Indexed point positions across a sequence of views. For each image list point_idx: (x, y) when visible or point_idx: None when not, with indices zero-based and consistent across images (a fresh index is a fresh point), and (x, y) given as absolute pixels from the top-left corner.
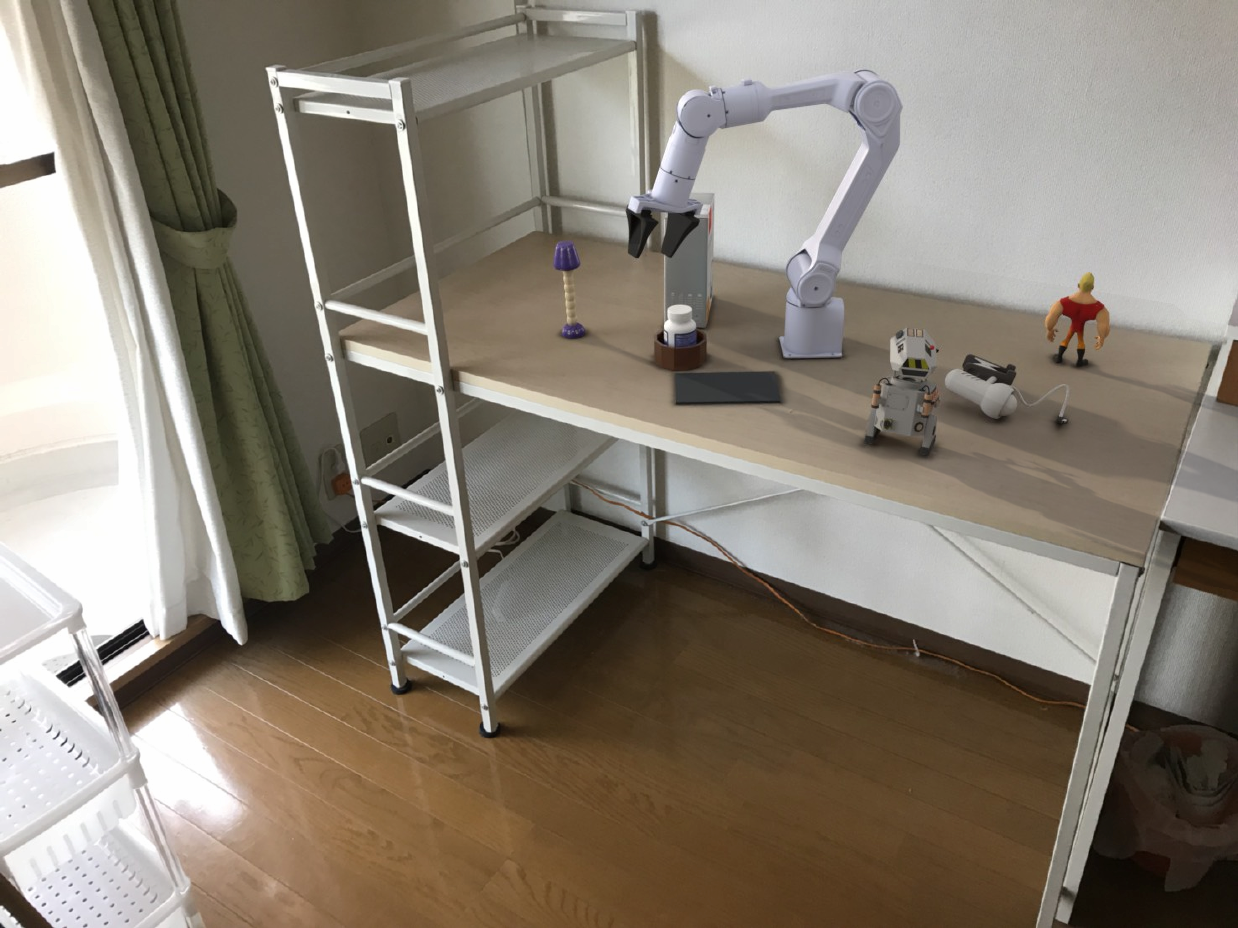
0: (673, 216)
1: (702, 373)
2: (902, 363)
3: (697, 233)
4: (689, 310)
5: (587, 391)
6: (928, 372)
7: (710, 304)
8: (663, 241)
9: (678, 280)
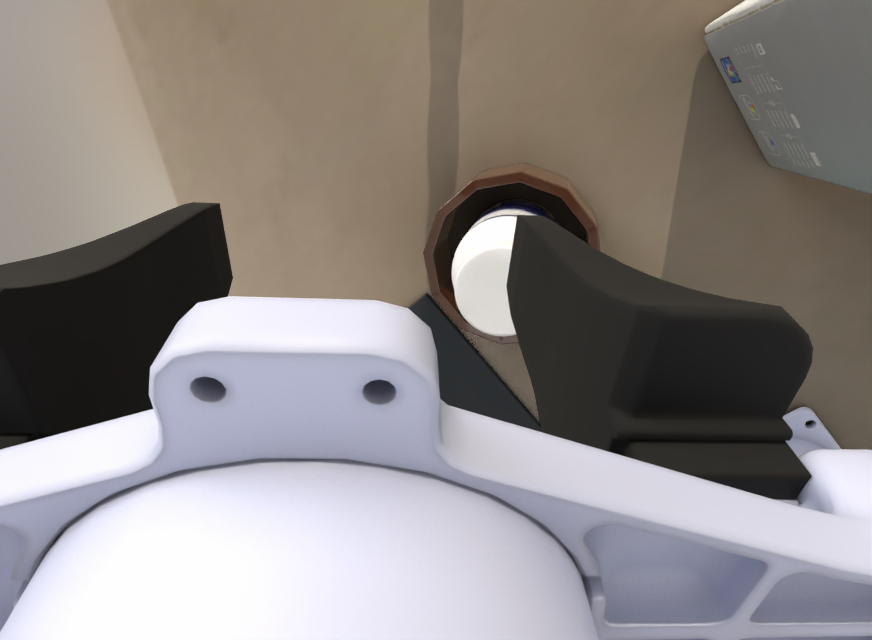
0: (597, 381)
1: (468, 353)
2: None
3: None
4: (512, 329)
5: (217, 167)
6: None
7: None
8: (534, 238)
9: (800, 70)
